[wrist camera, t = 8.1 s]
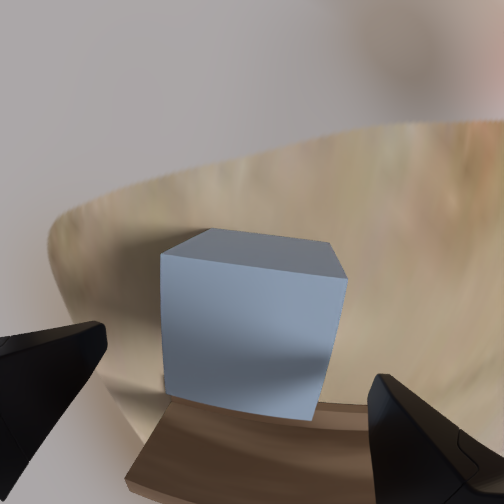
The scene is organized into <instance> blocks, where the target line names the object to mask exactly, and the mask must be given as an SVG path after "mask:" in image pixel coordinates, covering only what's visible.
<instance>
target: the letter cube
mask: <svg viewBox="0 0 504 504" xmlns="http://www.w3.org/2000/svg"><path fill="white" fill-rule="evenodd" d="M347 283H348V278H347V276H346V274H345V272H344V270H343V268H342V266H341V264H340V262H339V260H338V258H337V256H336V254H335V252H334V251H333V249H332V247H331V245H330V243H328V242H321V241H313V240H305V239H298V238H290V237H282V236H274V235H266V234H258V233H249V232H241V231H233V230H224V229H215V228H211V229H209V230H207V231H205V232H203V233H201V234H199V235H197V236H195V237H193V238H191V239H189V240H187V241H185V242H183V243H181V244H179V245H177V246H175V247H173V248H171V249H169V250H167V251H165V252H163V253H161V257H160V295H161V330H162V350H163V365H164V378H165V390H166V394H169V395H172V396H176V397H180V398H183V399H187V400H191V401H195V402H199V403H204V404H208V405H212V406H217V407H222V408H226V409H231V410H237V411H242V412H248V413H254V414H260V415H266V416H273V417H281V418H289V419H298V420H308V421H312V418H313V415H314V412H315V408H316V405H317V402H318V399H319V396H320V392H321V389H322V385H323V382H324V379H325V375H326V371H327V368H328V364H329V361H330V357H331V353H332V349H333V345H334V341H335V337H336V333H337V329H338V325H339V320H340V316H341V311H342V307H343V302H344V297H345V293H346V288H347Z"/></svg>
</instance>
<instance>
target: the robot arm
mask: <svg viewBox="0 0 504 504" xmlns="http://www.w3.org/2000/svg"><path fill="white" fill-rule="evenodd" d="M107 346H108V343H107V335H106V328H105V325H104V324H103V323H100V322H97V321H89V322H84V323H79V324H74V325H69V326H63V327H58V328H53V329H47V330H41V331H36V332H30V333H24V334H18V335H13V336H11V337H10V336H6V337H0V500H1V501H5V499H6V498H7V496H8V495H9V493H10V491H11V490H12V488H13V487H14V485H15V484H16V482H17V480H18V479H19V477H20V476H21V474H22V473H23V471H24V470H25V468H26V467H27V465H28V463H29V461H30V460H31V459H32V457H33V456H34V454H35V453H36V451H37V450H38V449H39V447H40V446H41V444H42V443H43V441H44V440H45V438H46V437H47V436H48V434H49V433H50V431H51V430H52V429H53V427H54V426H55V424H56V423H57V422H58V420H59V419H60V417H61V416H62V415H63V413H64V412H65V411H66V409H67V408H68V406H69V405H70V404H71V402H72V401H73V400H74V398H75V397H76V396H77V394H78V393H79V392H80V390H81V389H82V388H83V386H84V385H85V384H86V382H87V381H88V379H89V378H90V376H91V375H92V373H93V371H94V370H95V368H96V366H97V365H98V363H99V361H100V360H101V358H102V357H103V355H104V353H105V352H106V350H107ZM367 404H368V436H369V447H370V454H371V462H372V470H373V479H374V489H375V499H376V504H504V457H502V456H500V455H499V454H497V453H495V452H494V451H492V450H490V449H489V448H487V447H486V446H484V445H482V444H481V443H479V442H478V441H477V440H475V439H474V438H472V437H471V436H470V435H468V434H467V433H466V432H464V431H463V430H462V429H459V427H458V426H456V425H455V424H454V423H452V422H451V421H450V420H448V419H447V418H446V417H444V416H443V415H442V414H441V413H439V412H438V411H437V410H435V409H434V408H433V407H431V406H430V405H429V404H428V403H426V402H425V401H424V400H422V399H421V398H420V397H418V396H417V395H416V394H415V393H413V392H412V391H411V390H409V389H408V388H407V387H405V386H404V385H403V384H402V383H400V382H399V381H398V380H396V379H395V378H394V377H393V376H391V375H390V374H377V375H376V376H375V379H374V381H373V384H372V386H371V389H370V391H369V394H368V398H367Z"/></svg>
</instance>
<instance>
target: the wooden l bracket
mask: <svg viewBox="0 0 504 504" xmlns="http://www.w3.org/2000/svg"><path fill="white" fill-rule="evenodd" d="M124 479H125V481H126V484H127V486H128V488H129V490H130V491H131V492H133V493H136V494H138V495H141V496H143V497H146V498H148V499H151V500H154V501H157V502H160V503H162V504H376V499H375V489H374V479H373V470H372V462H371V454H370V447H369V436H368V405H347V404H332V403H320V402H317V405H316V408H315V412H314V415H313V418H312V421H308V420H298V419H289V418H281V417H273V416H266V415H260V414H254V413H248V412H242V411H237V410H231V409H226V408H222V407H217V406H212V405H208V404H204V403H199V402H195V401H191V400H187V399H183V398H180V397H176V396H172V395H171V403H170V404H169V406H168V408H167V409H166V411H165V413H164V414H163V416H162V418H161V419H160V421H159V423H158V424H157V426H156V427H155V429H154V431H153V432H152V434H151V436H150V437H149V439H148V441H147V442H146V444H145V445H144V447H143V449H142V450H141V452H140V454H139V455H138V457H137V458H136V460H135V462H134V463H133V465H132V467H131V468H130V470H129V472H128V473H127V475H126V477H125V478H124Z"/></svg>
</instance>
